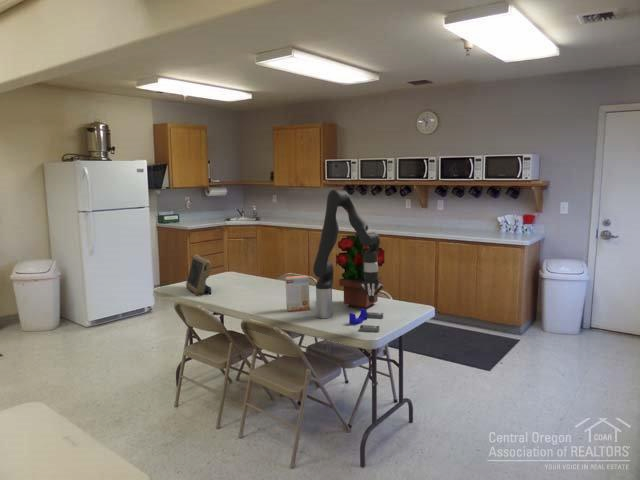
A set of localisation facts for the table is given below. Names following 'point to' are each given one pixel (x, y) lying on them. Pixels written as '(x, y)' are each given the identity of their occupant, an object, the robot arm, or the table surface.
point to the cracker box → (297, 293)
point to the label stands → (368, 327)
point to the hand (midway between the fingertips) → (371, 302)
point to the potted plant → (355, 271)
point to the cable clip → (360, 319)
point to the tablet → (198, 275)
